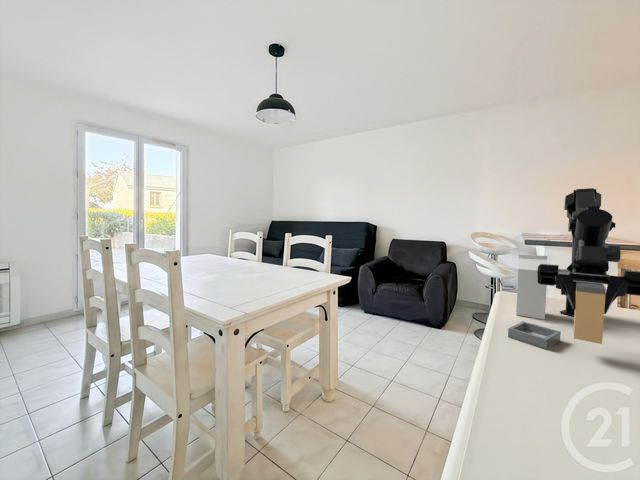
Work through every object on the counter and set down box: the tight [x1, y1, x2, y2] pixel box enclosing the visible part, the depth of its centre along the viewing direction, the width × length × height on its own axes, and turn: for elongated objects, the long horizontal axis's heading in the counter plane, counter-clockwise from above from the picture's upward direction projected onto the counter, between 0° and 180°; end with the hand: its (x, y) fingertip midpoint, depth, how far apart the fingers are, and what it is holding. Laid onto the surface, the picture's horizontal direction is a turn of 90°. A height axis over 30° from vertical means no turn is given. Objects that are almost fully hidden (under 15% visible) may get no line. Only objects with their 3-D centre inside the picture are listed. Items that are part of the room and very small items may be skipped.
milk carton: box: [515, 254, 548, 320], centre depth 86 cm, size 7×7×19 cm
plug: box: [573, 282, 607, 345], centre depth 61 cm, size 4×4×12 cm
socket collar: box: [507, 321, 561, 350], centre depth 70 cm, size 8×8×2 cm
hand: (589, 310), depth 60 cm, fingers closed on plug, 4 cm apart
